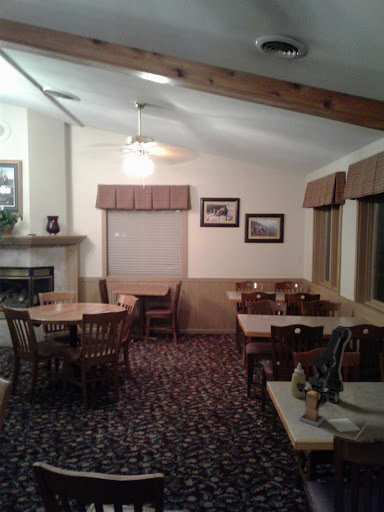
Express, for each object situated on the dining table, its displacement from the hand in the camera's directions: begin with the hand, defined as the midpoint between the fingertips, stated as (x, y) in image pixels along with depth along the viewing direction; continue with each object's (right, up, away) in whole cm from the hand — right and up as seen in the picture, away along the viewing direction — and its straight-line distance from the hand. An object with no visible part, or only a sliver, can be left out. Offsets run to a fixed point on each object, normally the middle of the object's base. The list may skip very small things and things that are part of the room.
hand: (311, 408), depth 177 cm
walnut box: (+1, -6, +1) cm, 6 cm away
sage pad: (+14, -7, -2) cm, 16 cm away
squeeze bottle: (+2, -5, +29) cm, 29 cm away
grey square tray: (+1, -7, +2) cm, 7 cm away
